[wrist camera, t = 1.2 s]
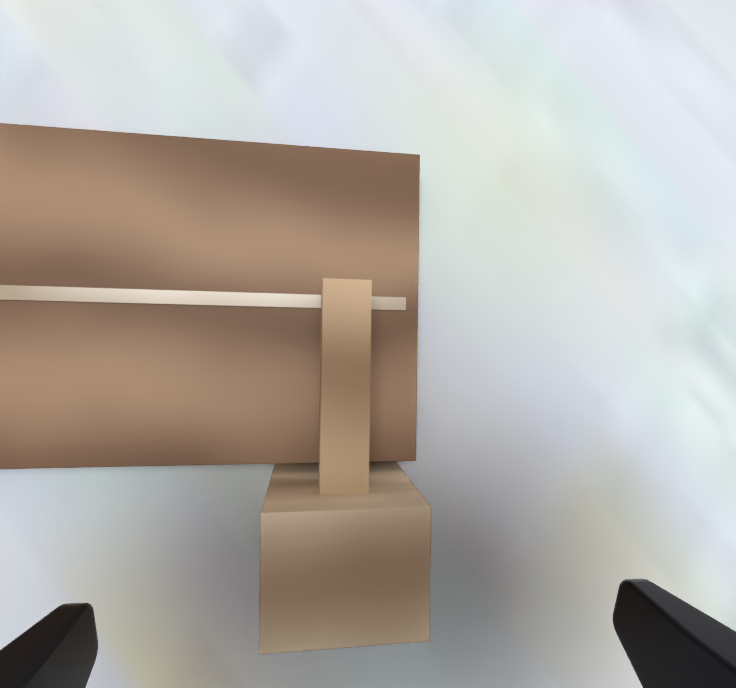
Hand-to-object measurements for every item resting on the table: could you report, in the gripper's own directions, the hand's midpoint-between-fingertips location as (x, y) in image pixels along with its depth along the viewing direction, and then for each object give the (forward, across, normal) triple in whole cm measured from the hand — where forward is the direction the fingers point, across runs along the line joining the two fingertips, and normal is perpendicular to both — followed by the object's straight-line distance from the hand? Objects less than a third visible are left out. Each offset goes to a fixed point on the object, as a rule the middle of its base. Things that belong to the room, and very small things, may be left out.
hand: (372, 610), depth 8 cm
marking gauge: (+11, 0, +2) cm, 12 cm away
